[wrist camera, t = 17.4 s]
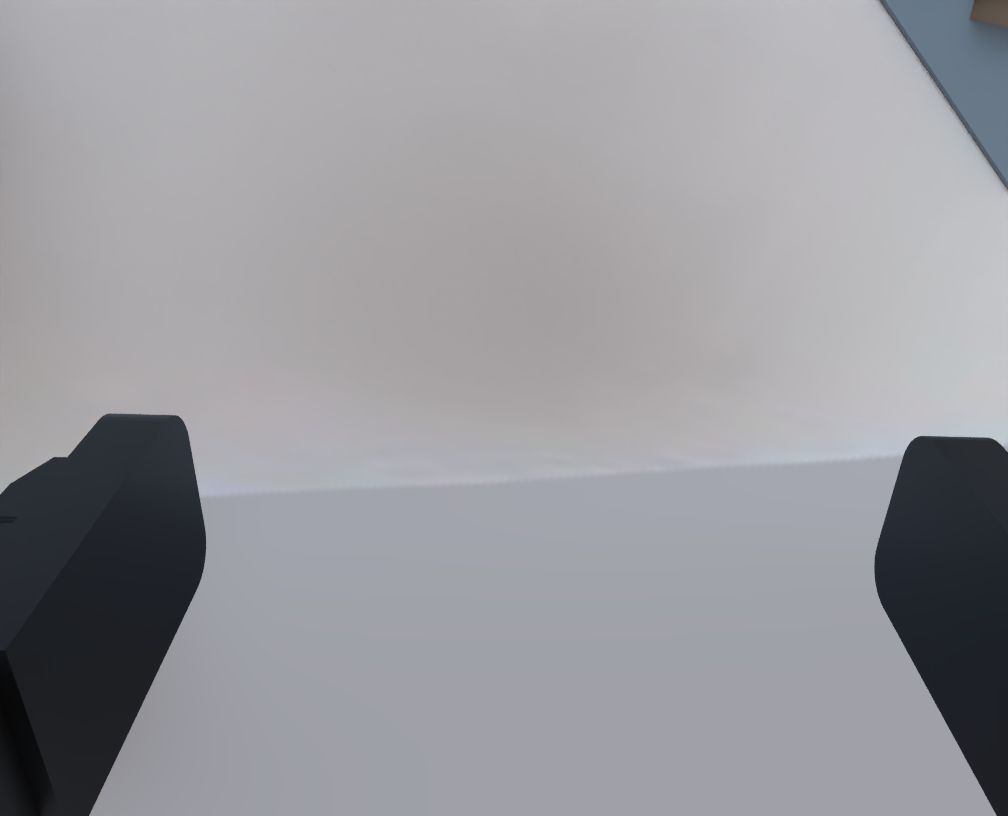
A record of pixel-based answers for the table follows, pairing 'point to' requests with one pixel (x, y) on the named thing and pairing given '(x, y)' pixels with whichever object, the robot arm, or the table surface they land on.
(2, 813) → the robot arm
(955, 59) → the mat
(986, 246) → the table surface
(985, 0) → the walnut block
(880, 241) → the table surface
